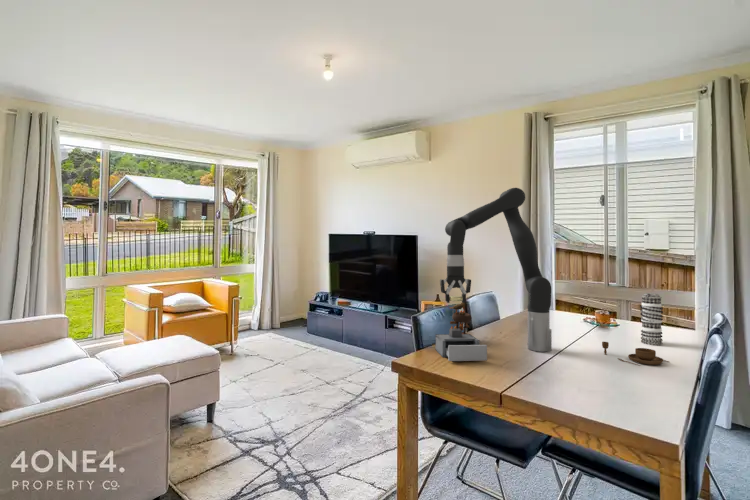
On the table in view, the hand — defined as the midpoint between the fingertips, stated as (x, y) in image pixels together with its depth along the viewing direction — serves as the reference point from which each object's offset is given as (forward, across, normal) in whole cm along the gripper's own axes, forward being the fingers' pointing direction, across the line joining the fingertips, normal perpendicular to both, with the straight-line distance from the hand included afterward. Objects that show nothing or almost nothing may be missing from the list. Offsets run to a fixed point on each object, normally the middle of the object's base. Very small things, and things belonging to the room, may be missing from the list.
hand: (455, 302), depth 173 cm
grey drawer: (+22, 0, +10) cm, 24 cm away
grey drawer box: (+22, 0, +2) cm, 22 cm away
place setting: (+23, -74, +14) cm, 79 cm away
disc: (-1, 0, 0) cm, 1 cm away
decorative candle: (+23, -98, -6) cm, 101 cm away
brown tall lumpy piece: (+22, -8, -18) cm, 30 cm away
